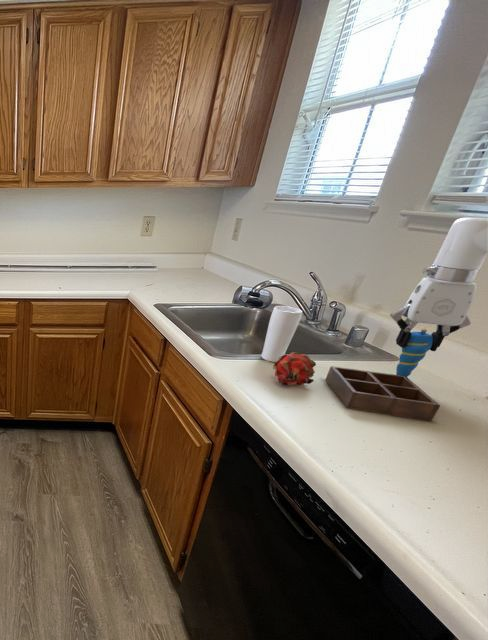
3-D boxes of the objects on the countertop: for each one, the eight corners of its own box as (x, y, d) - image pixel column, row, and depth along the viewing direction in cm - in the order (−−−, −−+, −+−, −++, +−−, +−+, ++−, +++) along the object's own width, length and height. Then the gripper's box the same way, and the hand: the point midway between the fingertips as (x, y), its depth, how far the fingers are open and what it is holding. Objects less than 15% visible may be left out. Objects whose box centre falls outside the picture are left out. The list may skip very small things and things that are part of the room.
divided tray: (398, 390, 104) (405, 376, 102) (431, 421, 91) (440, 405, 89) (324, 380, 109) (330, 365, 107) (346, 407, 96) (353, 392, 94)
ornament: (383, 381, 108) (409, 326, 102) (386, 375, 112) (412, 322, 105) (410, 388, 105) (439, 332, 98) (412, 382, 108) (440, 327, 102)
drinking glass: (254, 353, 124) (269, 304, 118) (279, 355, 123) (296, 306, 116) (262, 362, 118) (279, 311, 112) (289, 365, 117) (307, 313, 110)
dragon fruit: (293, 380, 112) (285, 402, 104) (269, 357, 113) (259, 377, 106) (325, 363, 105) (319, 386, 98) (299, 339, 106) (291, 359, 99)
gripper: (413, 274, 96) (379, 347, 104) (512, 282, 90) (468, 358, 98) (398, 268, 102) (367, 337, 110) (489, 275, 97) (450, 347, 105)
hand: (415, 346), depth 104 cm, fingers closed on ornament, 5 cm apart
